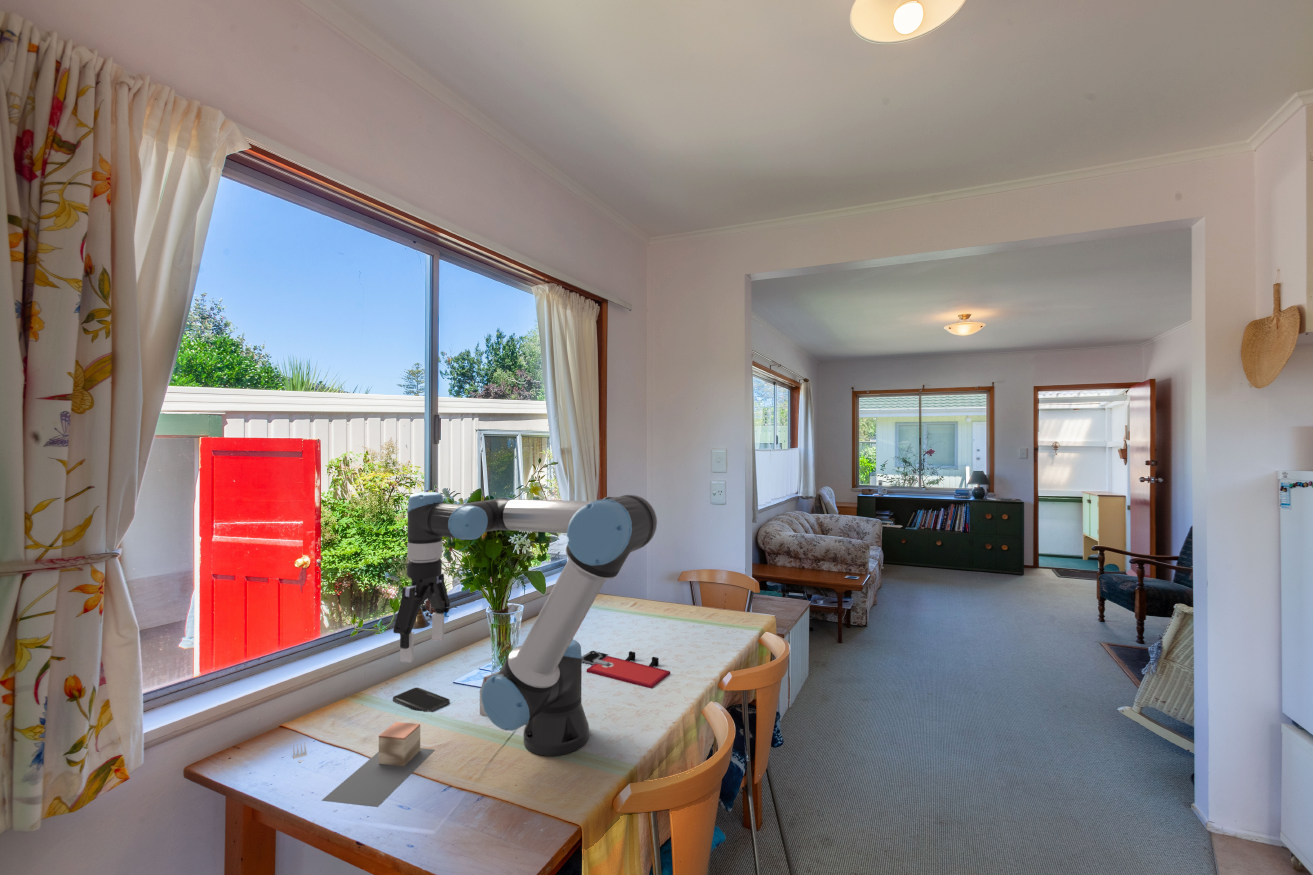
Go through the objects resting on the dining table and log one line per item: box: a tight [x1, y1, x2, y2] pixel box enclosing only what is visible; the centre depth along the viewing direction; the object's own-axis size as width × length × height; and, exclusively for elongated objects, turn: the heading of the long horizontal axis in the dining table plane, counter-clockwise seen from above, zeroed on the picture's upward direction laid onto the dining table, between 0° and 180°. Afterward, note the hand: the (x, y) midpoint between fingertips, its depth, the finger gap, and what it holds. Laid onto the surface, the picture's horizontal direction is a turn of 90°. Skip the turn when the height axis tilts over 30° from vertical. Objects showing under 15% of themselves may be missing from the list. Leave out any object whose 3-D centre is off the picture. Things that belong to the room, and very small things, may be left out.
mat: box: [321, 747, 435, 808], centre depth 119 cm, size 12×20×1 cm, turn 171°
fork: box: [292, 742, 308, 764], centre depth 122 cm, size 3×16×2 cm, turn 36°
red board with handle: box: [581, 650, 671, 689], centre depth 174 cm, size 30×3×15 cm
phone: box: [392, 687, 451, 713], centre depth 153 cm, size 8×1×15 cm
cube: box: [378, 721, 421, 766], centre depth 125 cm, size 6×6×6 cm
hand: (423, 650), depth 133 cm, fingers open, 12 cm apart
